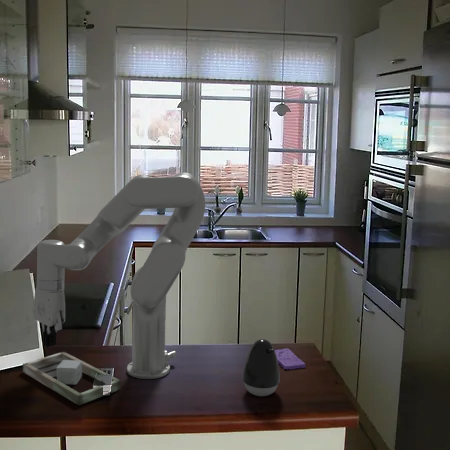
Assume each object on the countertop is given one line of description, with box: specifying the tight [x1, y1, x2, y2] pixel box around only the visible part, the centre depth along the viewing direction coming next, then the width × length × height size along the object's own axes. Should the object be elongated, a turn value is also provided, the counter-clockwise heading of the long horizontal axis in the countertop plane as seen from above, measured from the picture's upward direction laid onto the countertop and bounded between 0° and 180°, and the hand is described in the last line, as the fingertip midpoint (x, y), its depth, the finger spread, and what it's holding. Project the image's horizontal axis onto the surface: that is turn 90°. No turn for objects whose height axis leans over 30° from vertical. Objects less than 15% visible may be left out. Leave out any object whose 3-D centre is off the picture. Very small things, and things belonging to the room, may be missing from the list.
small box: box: [56, 360, 83, 386], centre depth 162 cm, size 6×6×5 cm
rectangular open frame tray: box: [22, 351, 122, 406], centre depth 162 cm, size 13×28×2 cm, turn 48°
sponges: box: [274, 348, 306, 371], centre depth 181 cm, size 7×13×2 cm, turn 19°
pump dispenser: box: [242, 338, 281, 397], centre depth 158 cm, size 10×10×15 cm
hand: (49, 344), depth 167 cm, fingers closed
